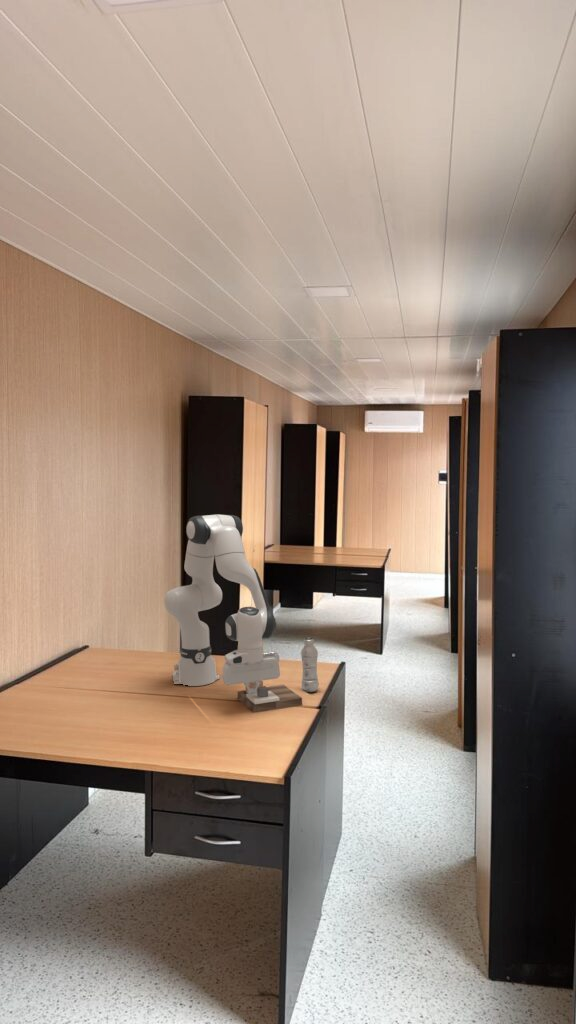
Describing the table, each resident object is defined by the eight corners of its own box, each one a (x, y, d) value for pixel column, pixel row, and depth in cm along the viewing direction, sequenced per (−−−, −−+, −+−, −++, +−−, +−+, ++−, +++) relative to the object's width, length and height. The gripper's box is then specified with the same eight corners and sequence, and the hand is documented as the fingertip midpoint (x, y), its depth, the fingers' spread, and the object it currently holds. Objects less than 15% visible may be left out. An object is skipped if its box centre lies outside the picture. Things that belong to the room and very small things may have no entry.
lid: (246, 697, 264) (246, 686, 264) (270, 693, 267) (269, 682, 267) (254, 704, 256) (254, 692, 255) (279, 700, 259) (279, 689, 259)
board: (237, 700, 272) (237, 691, 272) (283, 693, 279) (283, 684, 279) (253, 715, 256) (253, 705, 255) (302, 707, 262) (302, 697, 262)
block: (245, 698, 271) (245, 679, 271) (258, 696, 273) (258, 677, 273) (250, 702, 267) (249, 683, 266) (263, 700, 268) (262, 681, 268)
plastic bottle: (298, 693, 279) (297, 640, 278) (306, 688, 285) (305, 636, 284) (314, 695, 276) (312, 641, 275) (321, 689, 282) (320, 637, 281)
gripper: (275, 649, 266) (277, 687, 266) (220, 656, 258) (221, 695, 259) (282, 653, 260) (283, 692, 261) (225, 660, 252) (227, 700, 253)
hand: (252, 693), depth 260 cm, fingers closed
